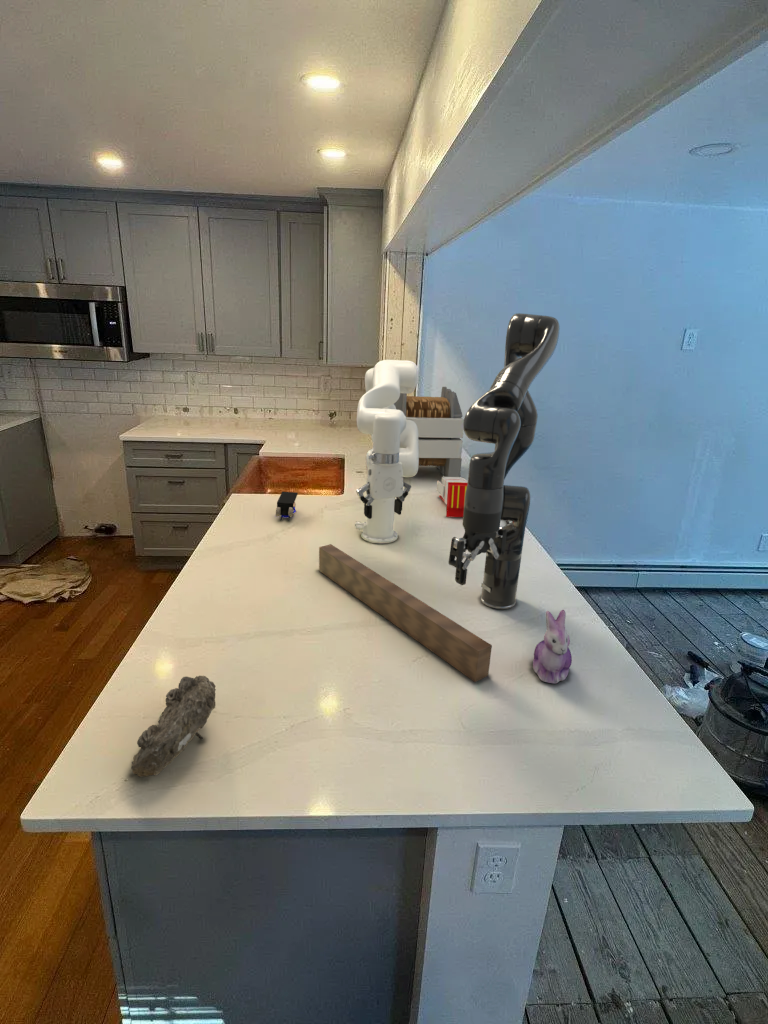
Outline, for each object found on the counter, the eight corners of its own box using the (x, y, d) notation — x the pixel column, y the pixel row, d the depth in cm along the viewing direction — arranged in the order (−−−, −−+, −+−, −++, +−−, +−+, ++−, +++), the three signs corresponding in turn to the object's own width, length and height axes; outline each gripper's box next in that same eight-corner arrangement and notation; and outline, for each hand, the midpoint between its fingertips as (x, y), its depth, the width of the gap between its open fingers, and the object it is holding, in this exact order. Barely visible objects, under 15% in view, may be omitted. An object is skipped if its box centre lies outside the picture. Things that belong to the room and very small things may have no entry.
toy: (463, 473, 243) (476, 484, 213) (461, 503, 245) (474, 518, 216) (435, 472, 242) (444, 483, 213) (433, 502, 245) (442, 517, 216)
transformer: (382, 463, 289) (386, 382, 275) (445, 464, 293) (451, 384, 279) (390, 482, 257) (394, 392, 243) (460, 483, 261) (468, 394, 247)
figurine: (551, 690, 120) (562, 629, 115) (520, 664, 128) (528, 606, 123) (584, 679, 124) (596, 619, 119) (551, 654, 132) (561, 597, 127)
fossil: (164, 676, 112) (217, 643, 107) (198, 707, 115) (251, 677, 110) (105, 770, 92) (166, 735, 87) (148, 805, 95) (209, 773, 90)
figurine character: (293, 526, 206) (298, 508, 219) (293, 507, 202) (298, 490, 216) (275, 525, 205) (281, 507, 219) (274, 507, 202) (280, 489, 215)
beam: (319, 570, 169) (319, 546, 167) (330, 567, 172) (330, 544, 169) (475, 682, 122) (478, 651, 119) (488, 675, 124) (492, 645, 121)
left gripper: (363, 463, 152) (362, 523, 158) (418, 458, 160) (415, 515, 166) (352, 457, 158) (350, 515, 164) (405, 453, 166) (402, 508, 172)
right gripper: (471, 518, 107) (463, 594, 112) (521, 505, 115) (511, 577, 120) (444, 506, 112) (438, 580, 118) (493, 495, 121) (485, 564, 126)
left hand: (383, 515), depth 165 cm, fingers open, 9 cm apart
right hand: (475, 578), depth 119 cm, fingers open, 8 cm apart
